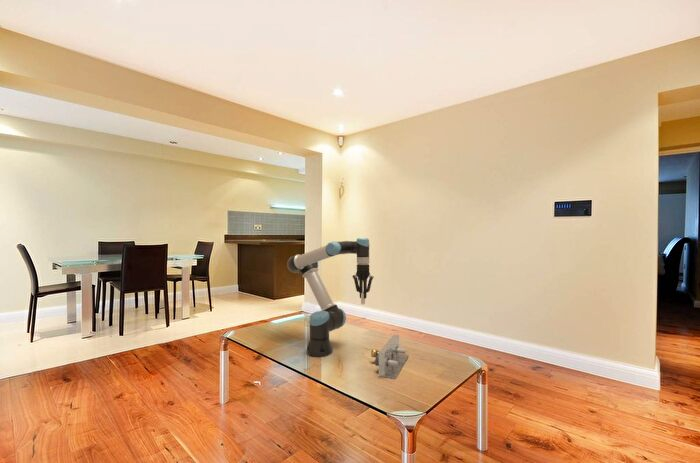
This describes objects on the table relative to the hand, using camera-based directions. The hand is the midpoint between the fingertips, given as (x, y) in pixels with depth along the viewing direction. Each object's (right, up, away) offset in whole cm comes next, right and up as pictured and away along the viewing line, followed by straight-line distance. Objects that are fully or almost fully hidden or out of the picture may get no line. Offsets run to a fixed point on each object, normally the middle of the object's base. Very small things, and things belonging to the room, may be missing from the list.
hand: (363, 303), depth 187 cm
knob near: (+11, -27, -25) cm, 38 cm away
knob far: (+18, -27, -9) cm, 33 cm away
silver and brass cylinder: (+9, -26, -15) cm, 31 cm away
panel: (+16, -29, -17) cm, 38 cm away
